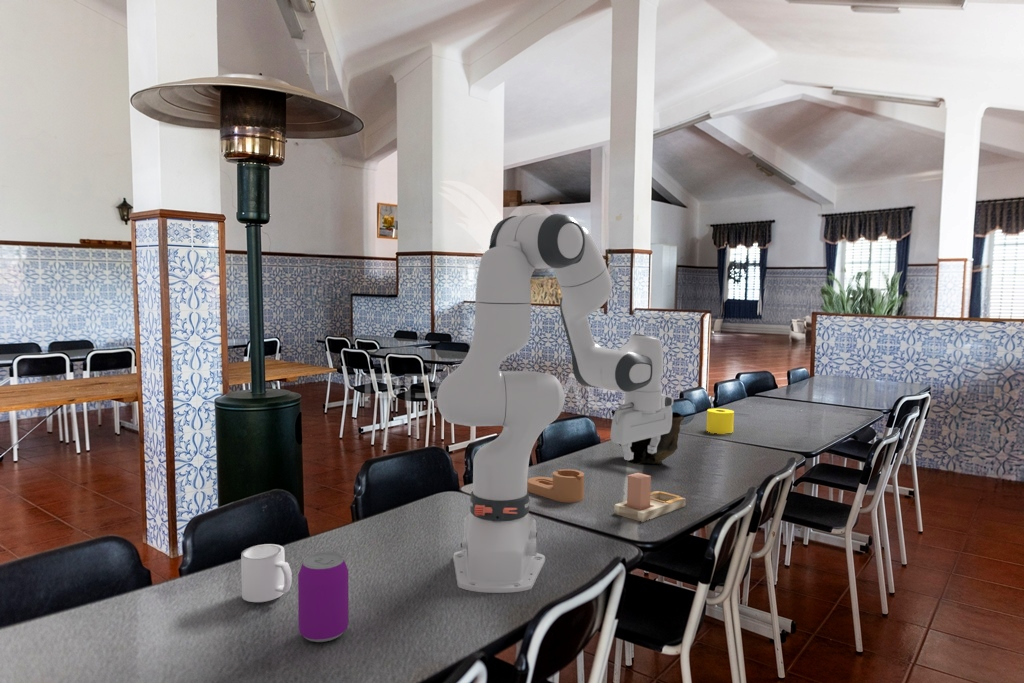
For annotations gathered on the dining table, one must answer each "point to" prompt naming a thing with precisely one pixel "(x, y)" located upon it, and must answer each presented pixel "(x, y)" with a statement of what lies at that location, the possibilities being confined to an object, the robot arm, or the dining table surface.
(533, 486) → the bracket
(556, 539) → the dining table surface
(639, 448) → the pottery vessel
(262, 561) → the mug
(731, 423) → the tape roll
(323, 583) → the beverage can
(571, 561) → the dining table surface
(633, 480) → the terracotta peg
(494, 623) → the dining table surface
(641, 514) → the peg board
